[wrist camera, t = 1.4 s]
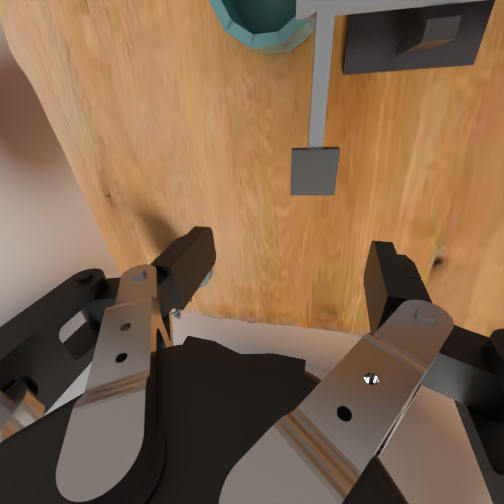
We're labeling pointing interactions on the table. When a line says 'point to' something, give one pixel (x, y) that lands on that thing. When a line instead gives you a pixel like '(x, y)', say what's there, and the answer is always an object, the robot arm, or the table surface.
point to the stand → (416, 37)
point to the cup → (264, 23)
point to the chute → (316, 156)
